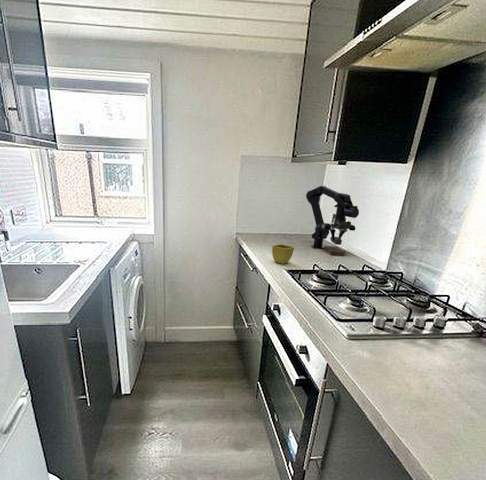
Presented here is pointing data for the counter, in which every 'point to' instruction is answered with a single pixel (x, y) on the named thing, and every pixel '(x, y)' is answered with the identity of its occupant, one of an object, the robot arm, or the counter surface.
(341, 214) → the robot arm
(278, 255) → the flower pot
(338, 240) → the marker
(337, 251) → the stand
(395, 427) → the counter surface
